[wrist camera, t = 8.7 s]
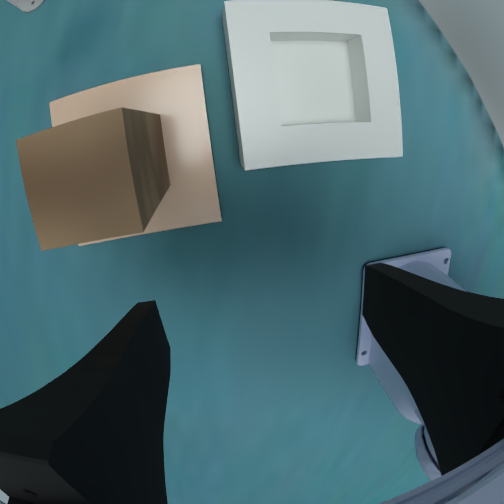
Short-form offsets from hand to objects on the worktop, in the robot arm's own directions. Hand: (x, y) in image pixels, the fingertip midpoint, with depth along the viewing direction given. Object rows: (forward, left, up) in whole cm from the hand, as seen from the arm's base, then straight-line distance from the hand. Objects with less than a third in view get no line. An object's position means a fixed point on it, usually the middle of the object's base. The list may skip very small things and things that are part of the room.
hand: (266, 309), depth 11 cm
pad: (+5, +6, -9) cm, 12 cm away
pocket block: (+8, -5, -9) cm, 13 cm away
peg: (+5, +6, -9) cm, 12 cm away
